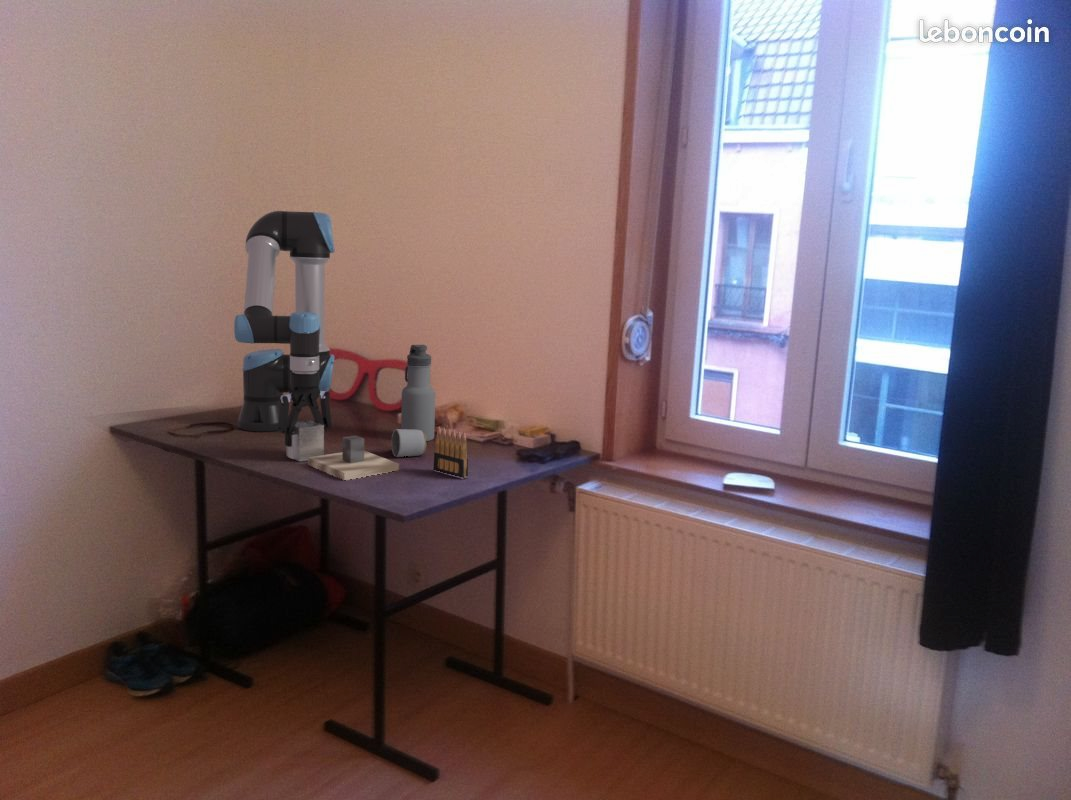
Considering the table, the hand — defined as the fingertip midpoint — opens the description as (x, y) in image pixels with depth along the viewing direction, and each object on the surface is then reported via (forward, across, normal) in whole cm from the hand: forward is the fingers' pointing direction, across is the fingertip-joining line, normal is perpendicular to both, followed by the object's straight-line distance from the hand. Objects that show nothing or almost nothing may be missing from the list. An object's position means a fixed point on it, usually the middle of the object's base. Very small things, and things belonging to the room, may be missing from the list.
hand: (305, 455), depth 245 cm
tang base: (0, +5, -16) cm, 17 cm away
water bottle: (+1, +38, +2) cm, 38 cm away
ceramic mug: (+1, +24, -12) cm, 27 cm away
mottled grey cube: (0, 0, 0) cm, 0 cm away
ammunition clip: (+1, +22, -35) cm, 41 cm away
